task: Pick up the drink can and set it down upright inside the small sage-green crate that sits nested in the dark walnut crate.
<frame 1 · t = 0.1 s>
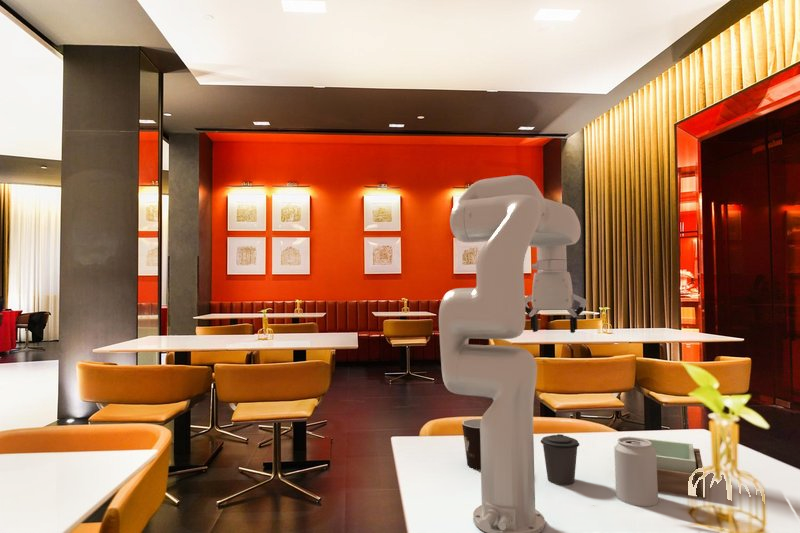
hand: (553, 332, 130), 31 cm above the table, tool pointing down, fingers open, 9 cm apart
coffee mug: (480, 468, 117), on the table
sage crate: (660, 476, 108), resting on walnut crate
can: (636, 503, 97), on the table
walnut crate: (660, 480, 108), on the table
coffee cup: (561, 485, 106), on the table
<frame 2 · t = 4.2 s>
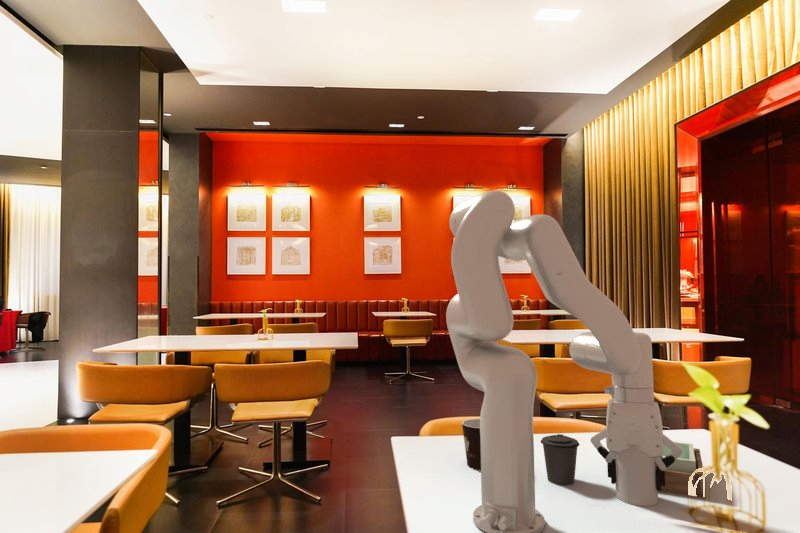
hand: (636, 484, 97), 3 cm above the table, tool pointing down, fingers closed on can, 7 cm apart
can: (636, 503, 97), on the table, touching gripper
everything else where it was.
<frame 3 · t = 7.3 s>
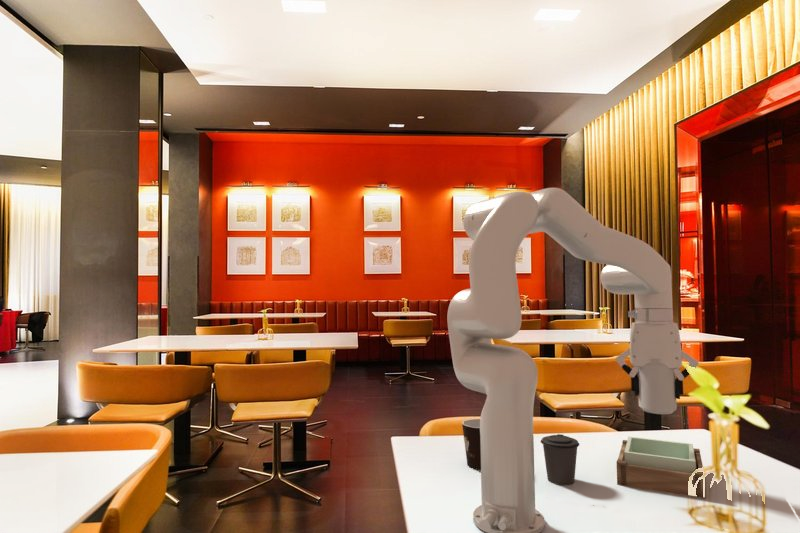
hand: (657, 395, 109), 18 cm above the table, tool pointing down, fingers closed on can, 7 cm apart
can: (657, 412, 109), point 15 cm above the table, touching gripper
everything else where it was.
when the fingers open (6 cm above the table, at t = 10.3 s): can drops 1 cm, resting on sage crate.
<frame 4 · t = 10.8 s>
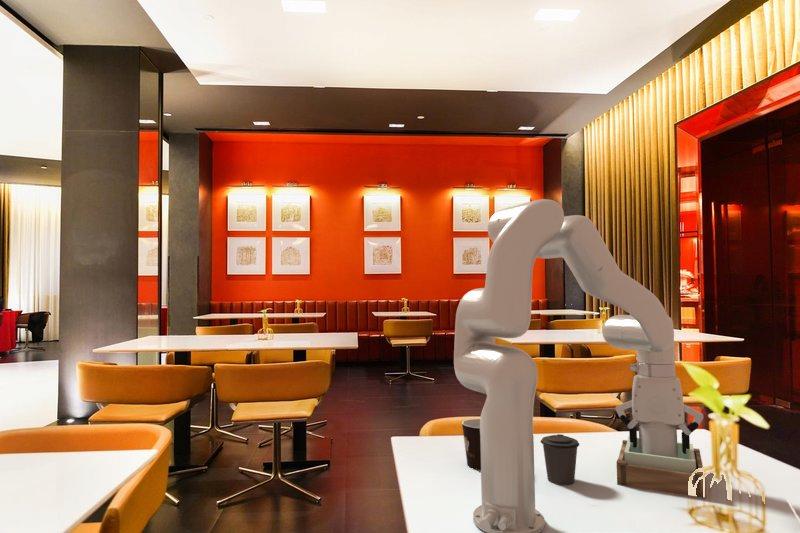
hand: (659, 448, 108), 7 cm above the table, tool pointing down, fingers open, 9 cm apart
can: (659, 474, 108), point 1 cm above the table, touching sage crate
everything else where it was.
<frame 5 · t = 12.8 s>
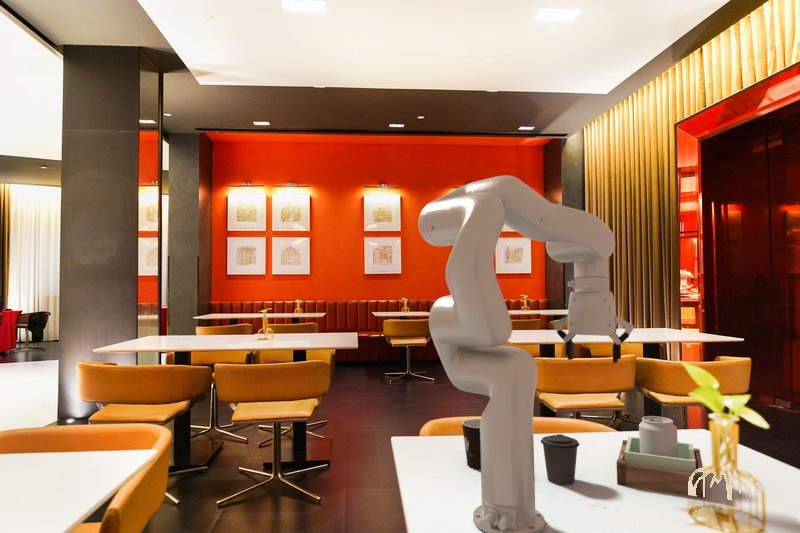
hand: (592, 360, 112), 26 cm above the table, tool pointing down, fingers open, 9 cm apart
nothing on the table moved.
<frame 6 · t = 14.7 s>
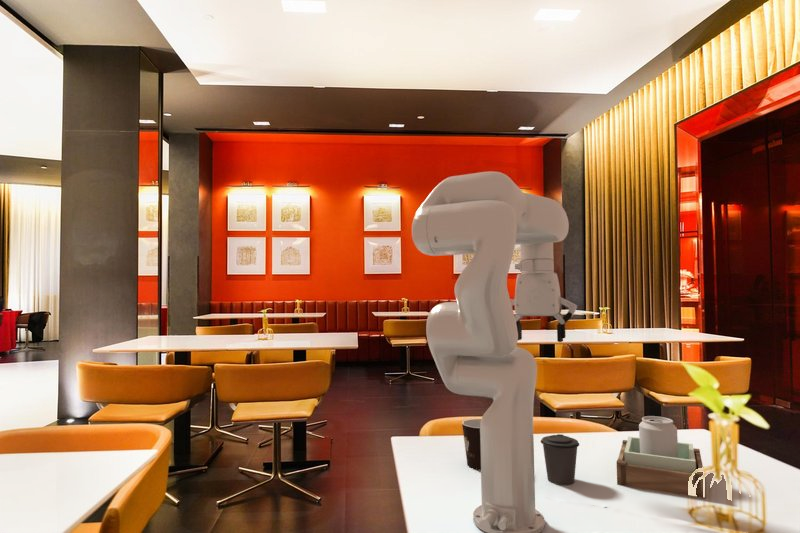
hand: (539, 340, 115), 30 cm above the table, tool pointing down, fingers open, 9 cm apart
nothing on the table moved.
at the end: can 0.2 cm off-centre on the sage crate, point 0.4 cm above the sage crate's base; can tilted 0°; the gripper is holding nothing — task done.
